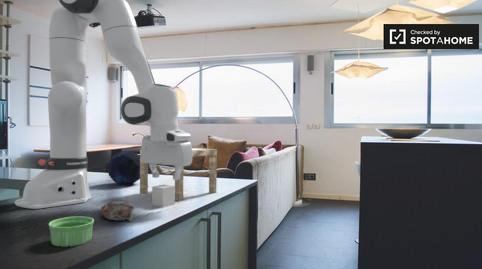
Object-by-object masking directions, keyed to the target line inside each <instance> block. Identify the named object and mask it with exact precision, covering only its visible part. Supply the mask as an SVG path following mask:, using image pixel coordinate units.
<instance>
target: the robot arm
mask: <svg viewBox="0 0 482 269" xmlns="http://www.w3.org/2000/svg"><path fill="white" fill-rule="evenodd" d="M58 1H59V3H60V4H61V6H60V7H57V8H54V10H53V11H52V13H51V17H50V21H49V27H48V28H49V29H48V30H49V31H48V51H49V52H48V55H49V58H48V59H49V60H48V61H49V70H50V71H49V72H50V81H51V88H50V89H49V91H48V94H47V103H48V104H47V105H48V124H49V157H48V158H47V159H43V158H41V159H39V160H38V161H37V164H38V165H39V166H44V169H43V170H42V171H41V172H40V173H38V174H37V175H35V176H34V177H33V178H31V179H30V180H29V181H28V182H26V184H25V186H24V188H23V194H22V198H19V199H16V200H14V205H15V206H17V207H19V208H25V209H33V210H34V209H35V210H36V209H38V210H39V209H43V208H46V209H47V208H52V207H61V206H65V205H66V206H68V205H73V204H75V205H76V204H81V203H87V202H88V200H90V199H92V194H91V190H90V187H89V181H88V169H89V166H88V165H89V163H88V162H89V161H88V160H89V159H88V158H89V157H88V156H87V105H88V91H87V90H88V88H87V87H88V86H87V53H86V52H87V46H86V44H87V43H86V40H87V39H86V31H87V28H88V27H90V28H97V27H99V26H100V28H101V32H102V38H103V41H104V44H105V46H106V47H105V48H106V49H107V51H108V53H109V55H110V56H111V57H112V58H113V59H115V60H116V61H118V63H120V64H121V65H123V66H124V67H125V68H126V69H127V70H128V71H129V72H130V74H131V76H133V79H134V82H135V85H136V88H137V91H138V92H137V94H133V95H130V96H127V97H126V98H124V100H123V101H122V103H121V106H120V115H121V118H122V119H123V121H125V122H126V124H129V125H133V126H150V127H149V129H150V131H149V132H150V134H146V135H145V136H144V137H143V139H142V143H141V148H140V149H141V161H142V162H143V163H148V168H149V169H150V171H151V175H152V176H151V177H152V178H154V179H155V178H156V179H157V178H159V177H160V171H158V168H157V167H158V165H165V166H174V170H175V169H176V172H175V171H174V173H173V174H172V180H174V181H175V180H179V179H180V174H181V171H182V169H183V166H184V167H187V166H191V164H192V163H193V157H192V148H193V147H192V143H191V142H190V141H191V140H192V135H191V133H188V132H186V131H184V130H182V129H181V128H179V121H178V115H179V102H178V94H177V90H176V88H175V87H173V86H171V85H166V84H161V83H156V82H155V79H154V76H153V73H152V70H151V67H150V64H149V61H148V59H147V56H146V53H145V50H144V47H143V44H142V41H141V37H140V33H139V29H138V24H137V22H136V19H135V16H134V13H133V11H132V8H131V7H130V4H129V3H128V1H126V0H58ZM183 170H184V169H183Z"/></svg>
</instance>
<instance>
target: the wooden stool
mask: <svg viewBox="0 0 482 269" xmlns="http://www.w3.org/2000/svg"><path fill="white" fill-rule="evenodd" d="M193 148H194V149H206V150H193V151H192V158H195V157H196V158H197V157H203V156H204V157H205V156H209V158H208V159H209V161H208V162H209V163H208V164H209V165H208V166H209V168H208V169H209V170H208V173H209V174H208V193H210V194H215V193H217V182H218V181H217V178H218V177H217V176H218V174H217V172H218V169H217V167H218V165H217V164H218V150H217V148H216V149H215V148H205V147H204V148H200V147H193ZM139 157H140V179H139V194H140V195H147V194H148V193H149V190H148V188H149V186H148V185H149V163H143V162H142V161H141V148H140V149H139ZM184 168H185V166H183V169H182V171H181V174H180V179H179V180H174V186H175V202H176V201H177V202H181V201H183V200H184ZM175 172H176V169H175V168H174V173H175Z"/></svg>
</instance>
